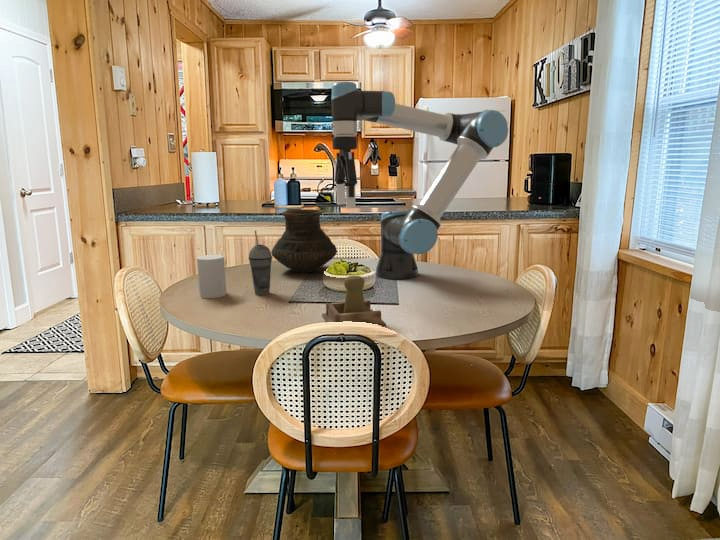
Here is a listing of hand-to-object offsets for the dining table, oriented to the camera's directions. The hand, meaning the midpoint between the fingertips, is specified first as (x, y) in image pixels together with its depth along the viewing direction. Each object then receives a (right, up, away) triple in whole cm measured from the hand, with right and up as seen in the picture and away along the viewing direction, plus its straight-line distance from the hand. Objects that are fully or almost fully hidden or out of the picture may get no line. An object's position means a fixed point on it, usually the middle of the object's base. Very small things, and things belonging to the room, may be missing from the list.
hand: (345, 206), depth 160 cm
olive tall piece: (+3, -33, -27) cm, 42 cm away
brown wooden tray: (+3, -33, -27) cm, 43 cm away
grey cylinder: (-42, -28, 0) cm, 50 cm away
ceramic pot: (-16, -20, +34) cm, 43 cm away
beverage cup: (-26, -28, +1) cm, 38 cm away
